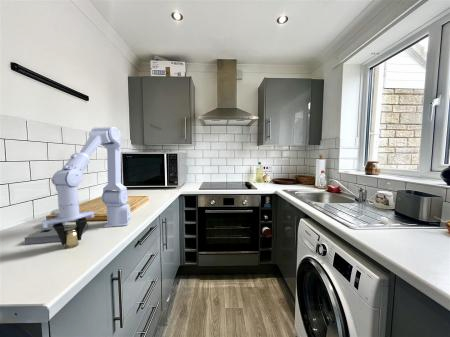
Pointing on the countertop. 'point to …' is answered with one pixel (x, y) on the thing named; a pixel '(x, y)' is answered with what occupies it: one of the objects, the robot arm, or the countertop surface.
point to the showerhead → (56, 214)
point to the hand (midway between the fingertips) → (71, 241)
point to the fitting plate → (48, 235)
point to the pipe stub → (71, 237)
